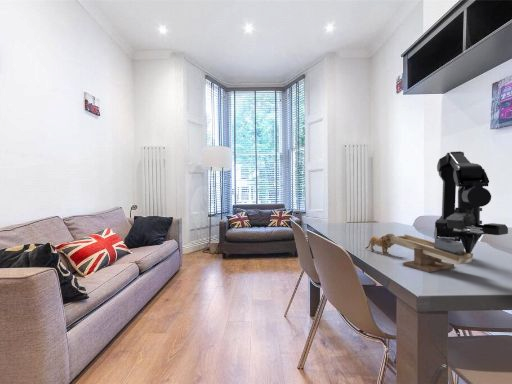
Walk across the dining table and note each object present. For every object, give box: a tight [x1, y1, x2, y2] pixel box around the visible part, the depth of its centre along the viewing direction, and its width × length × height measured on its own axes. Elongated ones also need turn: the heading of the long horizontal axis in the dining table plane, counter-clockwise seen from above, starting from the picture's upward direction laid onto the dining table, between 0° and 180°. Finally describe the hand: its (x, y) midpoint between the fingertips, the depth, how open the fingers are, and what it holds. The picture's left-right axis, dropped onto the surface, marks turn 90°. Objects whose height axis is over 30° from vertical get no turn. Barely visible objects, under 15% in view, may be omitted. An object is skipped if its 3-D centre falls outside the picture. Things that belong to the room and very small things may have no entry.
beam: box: [391, 233, 474, 265], centre depth 106 cm, size 8×25×3 cm, turn 25°
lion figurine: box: [365, 233, 396, 255], centre depth 129 cm, size 15×5×9 cm, turn 35°
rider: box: [434, 237, 465, 256], centre depth 99 cm, size 5×7×4 cm
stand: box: [402, 248, 455, 273], centre depth 106 cm, size 14×10×7 cm
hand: (468, 253), depth 94 cm, fingers closed
